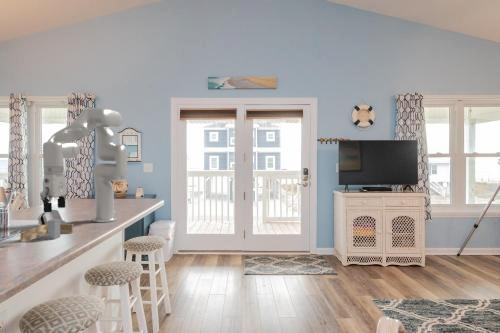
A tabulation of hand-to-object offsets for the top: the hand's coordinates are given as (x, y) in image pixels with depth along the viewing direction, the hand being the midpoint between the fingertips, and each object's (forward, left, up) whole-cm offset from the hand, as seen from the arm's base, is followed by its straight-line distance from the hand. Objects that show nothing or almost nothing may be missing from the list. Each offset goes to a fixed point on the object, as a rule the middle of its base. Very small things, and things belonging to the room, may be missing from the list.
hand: (54, 209), depth 145 cm
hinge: (-19, -13, -13) cm, 26 cm away
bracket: (+1, -3, -12) cm, 13 cm away
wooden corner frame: (-1, -4, -12) cm, 13 cm away
